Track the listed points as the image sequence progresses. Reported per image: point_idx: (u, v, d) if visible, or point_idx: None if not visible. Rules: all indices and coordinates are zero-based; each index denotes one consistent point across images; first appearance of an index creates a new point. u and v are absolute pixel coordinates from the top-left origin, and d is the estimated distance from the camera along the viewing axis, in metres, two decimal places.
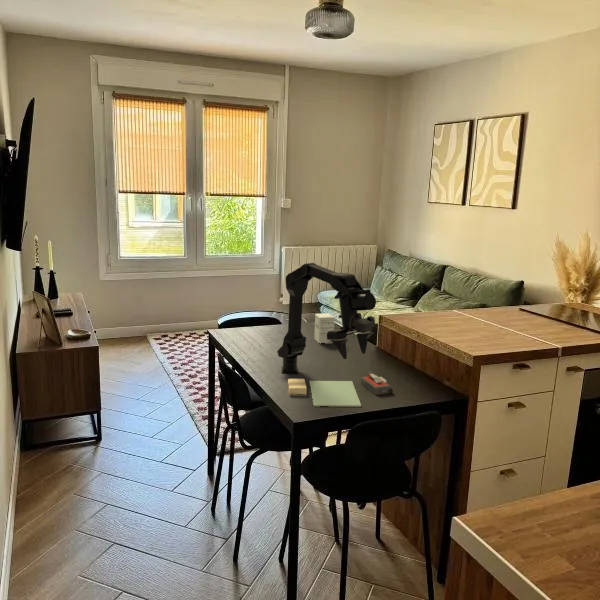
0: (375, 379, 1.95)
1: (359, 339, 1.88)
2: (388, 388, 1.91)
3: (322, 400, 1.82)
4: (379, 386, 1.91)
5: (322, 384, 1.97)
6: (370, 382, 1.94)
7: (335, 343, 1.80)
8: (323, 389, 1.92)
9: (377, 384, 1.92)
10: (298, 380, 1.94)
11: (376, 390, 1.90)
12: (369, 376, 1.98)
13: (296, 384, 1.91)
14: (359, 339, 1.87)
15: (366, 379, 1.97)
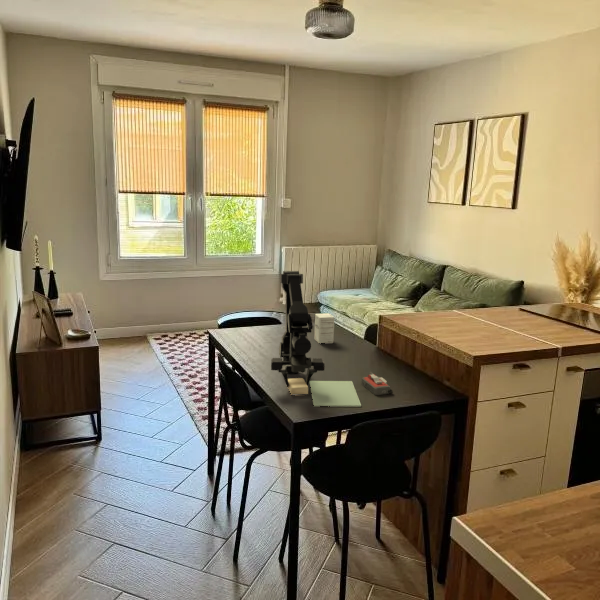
0: (375, 379, 1.95)
1: (307, 372, 1.92)
2: (388, 389, 1.91)
3: (322, 400, 1.82)
4: (378, 386, 1.90)
5: (322, 384, 1.97)
6: (370, 382, 1.94)
7: None
8: (323, 389, 1.92)
9: (377, 384, 1.92)
10: (297, 379, 1.94)
11: (375, 390, 1.90)
12: (369, 376, 1.98)
13: (296, 383, 1.91)
14: (307, 372, 1.92)
15: (366, 379, 1.97)
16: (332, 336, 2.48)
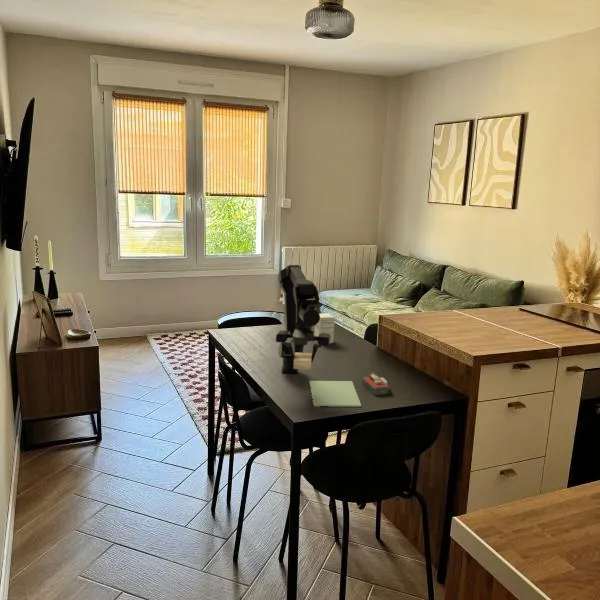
0: (375, 379, 1.95)
1: None
2: (387, 389, 1.91)
3: (322, 400, 1.82)
4: (378, 386, 1.90)
5: (322, 384, 1.97)
6: (370, 382, 1.94)
7: None
8: (323, 389, 1.92)
9: (376, 384, 1.92)
10: (305, 354, 1.92)
11: (374, 390, 1.90)
12: (370, 376, 1.98)
13: (301, 357, 1.88)
14: None
15: (366, 379, 1.97)
16: (332, 336, 2.48)
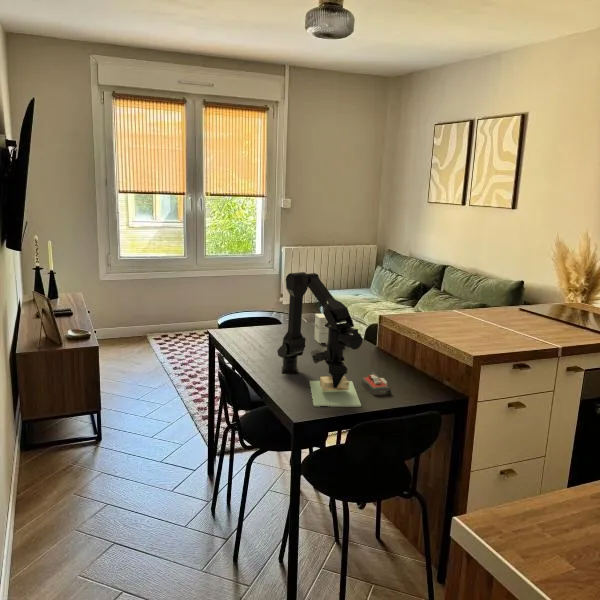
0: (374, 380, 1.94)
1: None
2: (386, 389, 1.90)
3: (322, 400, 1.82)
4: (377, 387, 1.90)
5: None
6: (369, 383, 1.94)
7: None
8: None
9: (375, 385, 1.92)
10: (342, 379, 1.89)
11: (373, 390, 1.90)
12: (369, 377, 1.98)
13: (331, 379, 1.89)
14: None
15: (366, 379, 1.97)
16: None
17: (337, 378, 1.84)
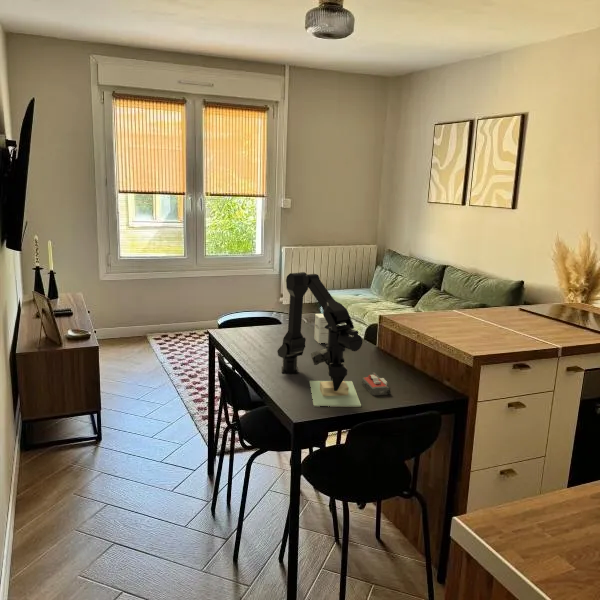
0: (374, 380, 1.94)
1: None
2: (386, 389, 1.90)
3: (322, 400, 1.82)
4: (376, 387, 1.90)
5: None
6: (369, 382, 1.94)
7: None
8: None
9: (375, 385, 1.92)
10: (342, 384, 1.89)
11: (372, 390, 1.89)
12: (369, 377, 1.98)
13: (331, 384, 1.89)
14: None
15: (366, 379, 1.97)
16: None
17: (337, 381, 1.83)
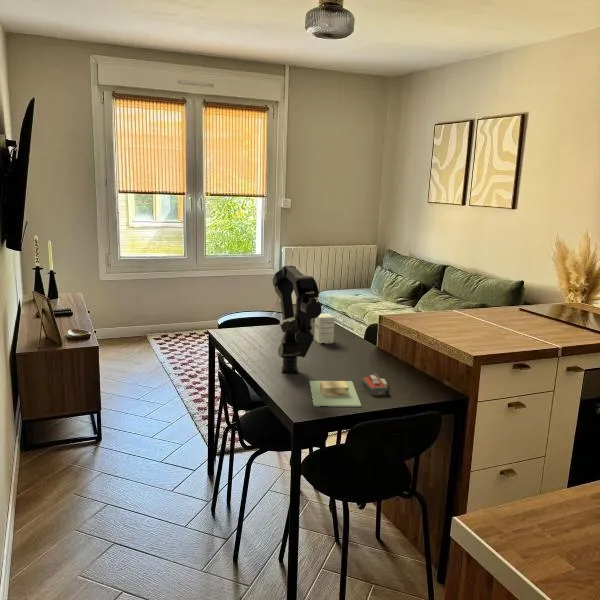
0: (373, 380, 1.94)
1: None
2: (384, 390, 1.90)
3: (322, 400, 1.82)
4: (375, 387, 1.90)
5: None
6: (368, 383, 1.94)
7: None
8: None
9: (374, 385, 1.91)
10: (342, 384, 1.89)
11: (371, 391, 1.89)
12: (369, 377, 1.97)
13: (331, 384, 1.89)
14: None
15: (366, 380, 1.97)
16: (332, 336, 2.48)
17: (305, 347, 1.89)
